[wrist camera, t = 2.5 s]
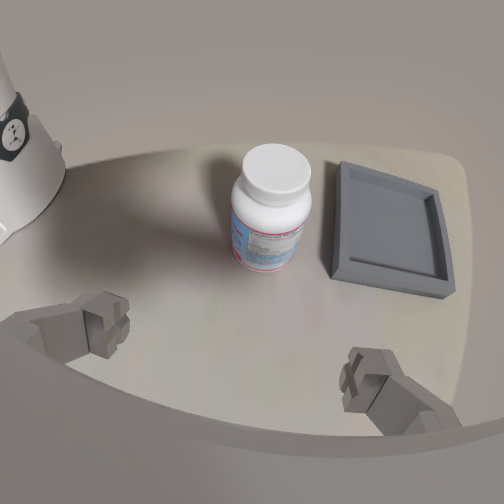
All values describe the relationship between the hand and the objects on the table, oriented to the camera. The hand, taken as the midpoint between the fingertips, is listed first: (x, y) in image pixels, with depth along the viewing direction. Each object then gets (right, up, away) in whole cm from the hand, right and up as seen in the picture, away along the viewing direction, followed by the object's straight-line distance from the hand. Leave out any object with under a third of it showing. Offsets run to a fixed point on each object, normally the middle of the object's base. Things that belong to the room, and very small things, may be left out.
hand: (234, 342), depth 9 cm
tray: (+16, +5, +20) cm, 26 cm away
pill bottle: (+2, +3, +19) cm, 19 cm away
